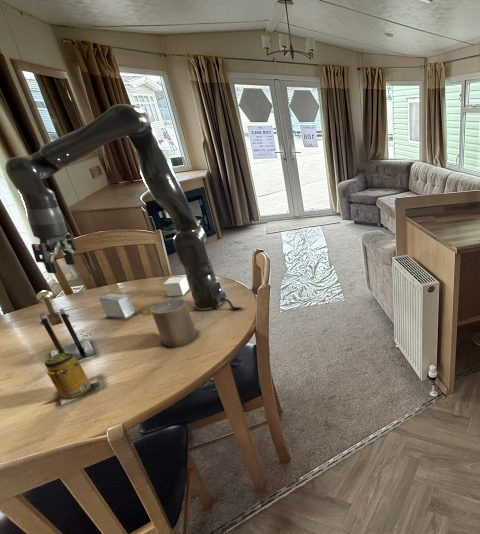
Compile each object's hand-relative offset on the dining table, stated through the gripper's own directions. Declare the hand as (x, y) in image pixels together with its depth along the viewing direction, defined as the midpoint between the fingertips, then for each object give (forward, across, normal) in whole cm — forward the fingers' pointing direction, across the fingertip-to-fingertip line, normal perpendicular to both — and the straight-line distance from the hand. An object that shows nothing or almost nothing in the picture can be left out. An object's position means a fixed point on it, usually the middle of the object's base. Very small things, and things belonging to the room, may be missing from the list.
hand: (62, 268), depth 114 cm
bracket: (+24, -16, -6) cm, 30 cm away
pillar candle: (+23, -14, -36) cm, 44 cm away
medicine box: (+23, +7, -9) cm, 25 cm away
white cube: (+21, +24, -22) cm, 38 cm away
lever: (+10, -12, -2) cm, 16 cm away
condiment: (+25, -35, -18) cm, 47 cm away
